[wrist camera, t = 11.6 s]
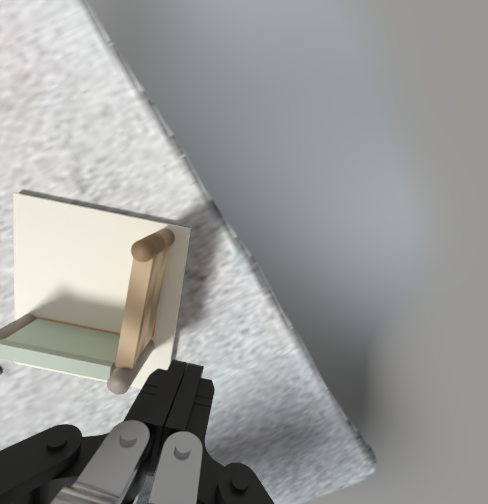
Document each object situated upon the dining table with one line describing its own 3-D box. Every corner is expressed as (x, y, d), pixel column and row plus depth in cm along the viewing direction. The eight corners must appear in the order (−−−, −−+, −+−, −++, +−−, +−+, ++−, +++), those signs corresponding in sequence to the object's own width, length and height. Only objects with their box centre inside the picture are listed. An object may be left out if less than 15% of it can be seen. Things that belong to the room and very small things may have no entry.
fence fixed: (155, 351, 32) (127, 396, 25) (26, 324, 32) (-35, 362, 25) (157, 335, 32) (129, 377, 25) (27, 309, 32) (-37, 344, 25)
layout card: (167, 390, 33) (165, 394, 33) (19, 360, 33) (14, 363, 33) (191, 228, 28) (189, 229, 28) (18, 192, 28) (12, 193, 28)
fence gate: (154, 338, 31) (130, 374, 25) (138, 334, 31) (111, 368, 25) (176, 231, 28) (155, 243, 22) (158, 226, 28) (132, 237, 22)
